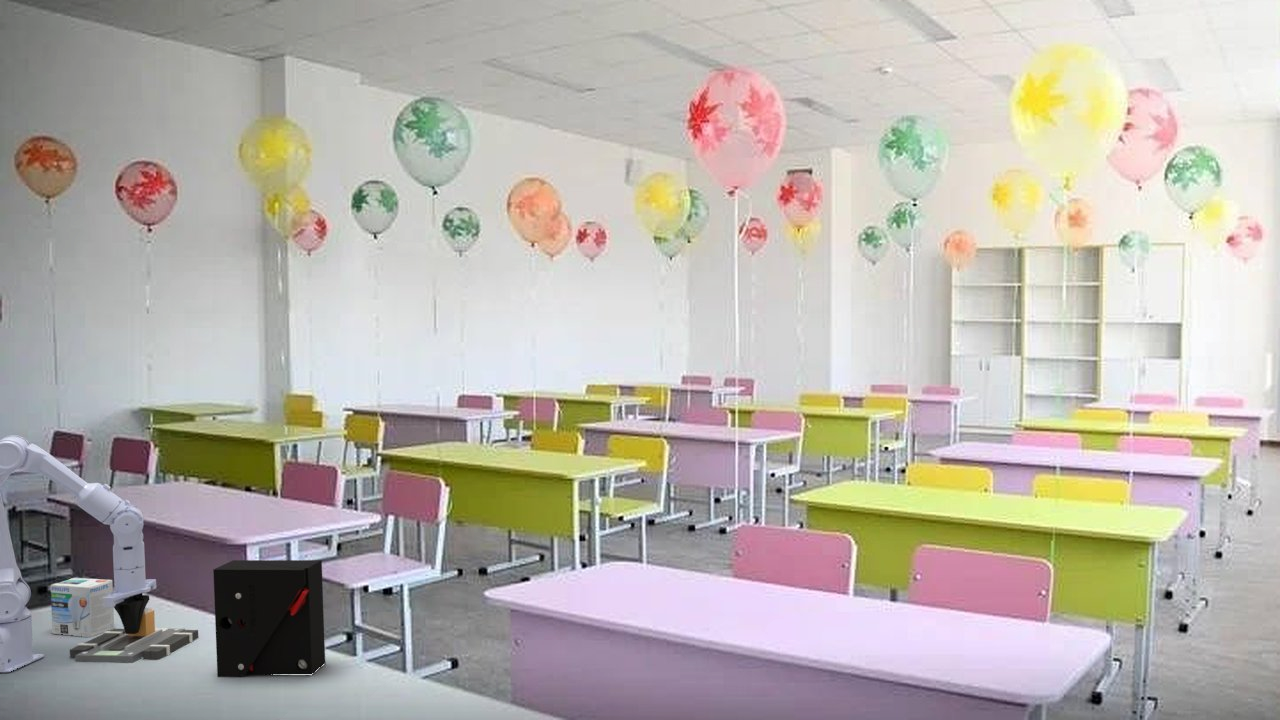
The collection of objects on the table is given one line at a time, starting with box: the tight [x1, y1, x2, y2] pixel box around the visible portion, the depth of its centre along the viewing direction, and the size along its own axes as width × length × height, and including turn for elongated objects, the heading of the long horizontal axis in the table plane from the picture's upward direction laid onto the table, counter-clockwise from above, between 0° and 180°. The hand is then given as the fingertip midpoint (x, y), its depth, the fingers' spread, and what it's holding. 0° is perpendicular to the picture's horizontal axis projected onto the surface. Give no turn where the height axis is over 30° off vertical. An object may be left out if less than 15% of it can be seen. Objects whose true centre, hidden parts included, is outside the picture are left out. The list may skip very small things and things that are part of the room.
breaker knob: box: [128, 607, 156, 636], centre depth 212 cm, size 3×4×5 cm
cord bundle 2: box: [142, 629, 199, 661], centre depth 208 cm, size 14×4×2 cm, turn 173°
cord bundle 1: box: [69, 628, 125, 659], centre depth 210 cm, size 14×4×2 cm, turn 173°
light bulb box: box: [50, 577, 115, 638], centre depth 221 cm, size 11×7×11 cm, turn 73°
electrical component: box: [212, 559, 326, 678], centre depth 193 cm, size 18×10×20 cm, turn 84°
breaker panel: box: [74, 627, 186, 664], centre depth 209 cm, size 18×12×2 cm, turn 173°
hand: (132, 633), depth 209 cm, fingers closed
